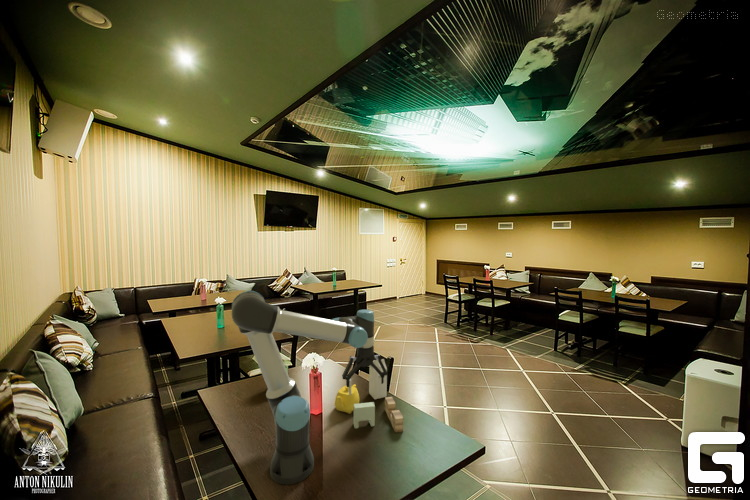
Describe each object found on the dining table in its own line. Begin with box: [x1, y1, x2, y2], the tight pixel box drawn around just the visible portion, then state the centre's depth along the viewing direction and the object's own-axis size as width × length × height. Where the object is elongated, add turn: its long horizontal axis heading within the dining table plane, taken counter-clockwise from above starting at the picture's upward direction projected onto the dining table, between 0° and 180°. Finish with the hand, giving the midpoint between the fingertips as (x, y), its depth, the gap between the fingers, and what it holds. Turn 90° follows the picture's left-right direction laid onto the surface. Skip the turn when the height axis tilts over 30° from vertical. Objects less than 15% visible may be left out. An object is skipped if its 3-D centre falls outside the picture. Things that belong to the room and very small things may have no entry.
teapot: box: [334, 384, 360, 415], centre depth 146 cm, size 18×11×11 cm, turn 156°
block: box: [353, 401, 376, 429], centre depth 134 cm, size 4×9×9 cm, turn 103°
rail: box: [384, 396, 404, 433], centre depth 138 cm, size 18×4×6 cm, turn 13°
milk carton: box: [368, 358, 388, 400], centre depth 160 cm, size 7×7×19 cm
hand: (365, 392), depth 134 cm, fingers open, 13 cm apart
